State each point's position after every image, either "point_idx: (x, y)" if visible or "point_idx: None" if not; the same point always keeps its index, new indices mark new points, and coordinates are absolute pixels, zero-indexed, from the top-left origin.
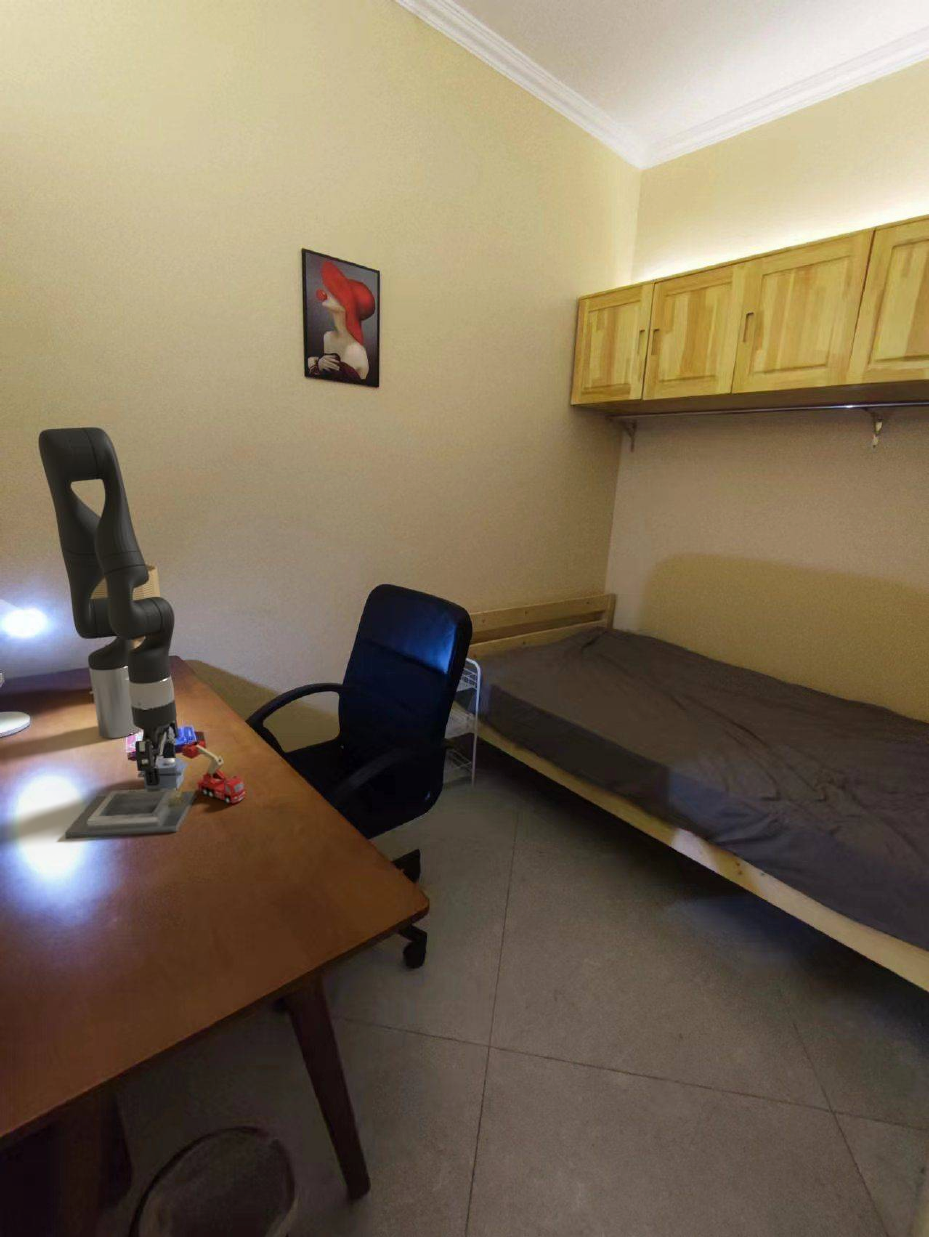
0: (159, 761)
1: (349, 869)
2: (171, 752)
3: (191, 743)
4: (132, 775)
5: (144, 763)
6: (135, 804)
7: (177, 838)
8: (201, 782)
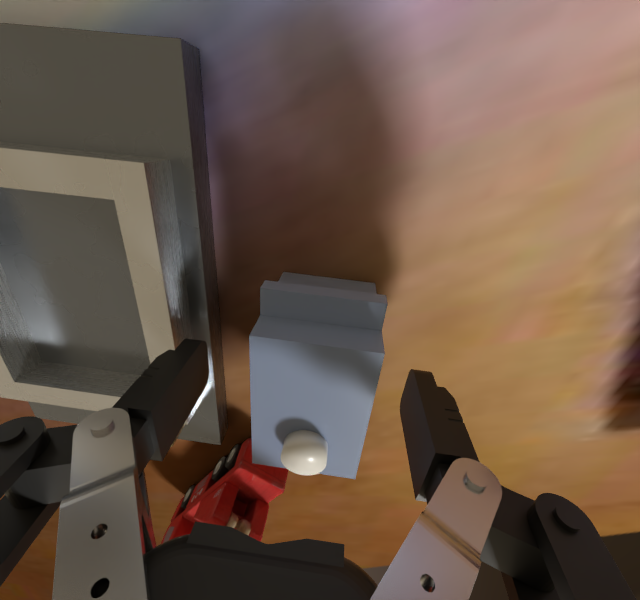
0: (334, 400)
1: (31, 586)
2: (411, 453)
3: None
4: (463, 164)
5: (55, 467)
6: (125, 283)
7: (29, 405)
8: (234, 476)
